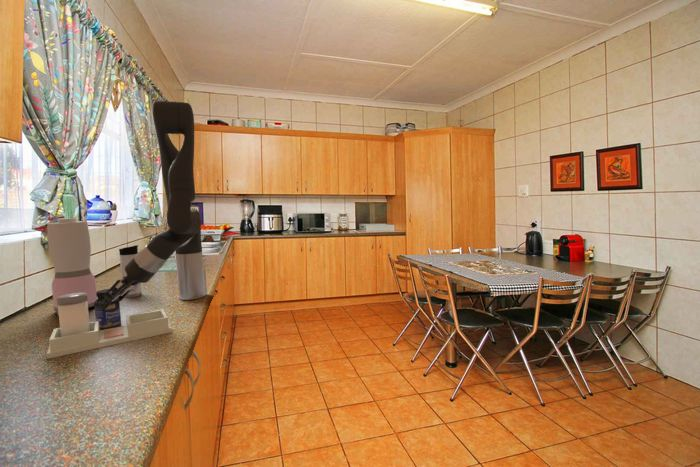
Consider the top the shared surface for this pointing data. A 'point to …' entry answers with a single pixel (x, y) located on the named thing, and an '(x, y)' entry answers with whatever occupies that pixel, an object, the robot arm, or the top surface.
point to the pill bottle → (107, 312)
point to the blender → (71, 259)
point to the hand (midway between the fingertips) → (109, 303)
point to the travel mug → (125, 258)
